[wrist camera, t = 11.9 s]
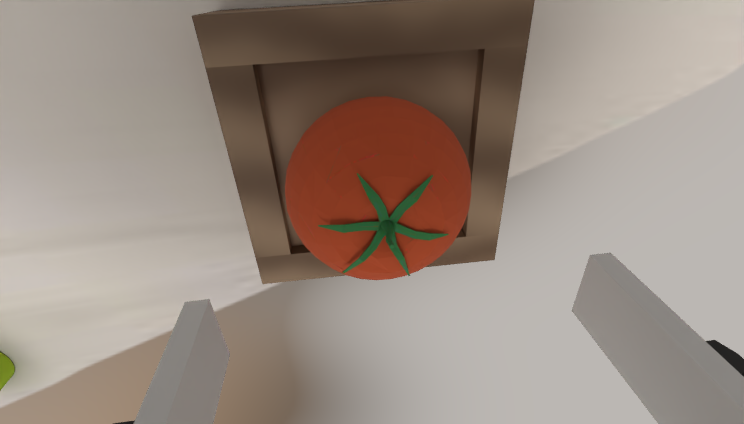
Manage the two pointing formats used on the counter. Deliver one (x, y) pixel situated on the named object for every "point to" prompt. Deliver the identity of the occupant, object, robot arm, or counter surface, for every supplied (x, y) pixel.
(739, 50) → the counter surface
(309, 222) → the tomato
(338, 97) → the walnut box
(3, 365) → the soap dispenser
